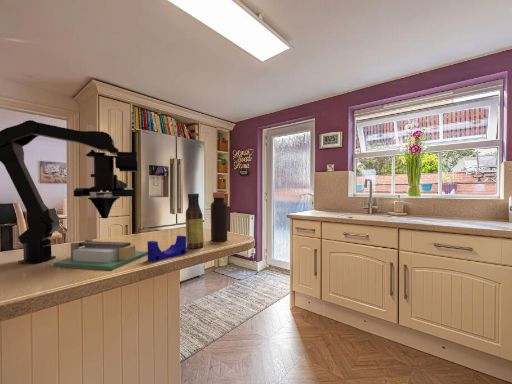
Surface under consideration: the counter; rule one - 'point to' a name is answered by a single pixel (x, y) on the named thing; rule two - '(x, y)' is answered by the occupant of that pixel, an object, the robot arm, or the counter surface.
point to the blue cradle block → (172, 251)
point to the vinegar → (218, 217)
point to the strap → (104, 244)
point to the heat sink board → (98, 264)
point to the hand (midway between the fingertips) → (104, 218)
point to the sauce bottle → (194, 222)
